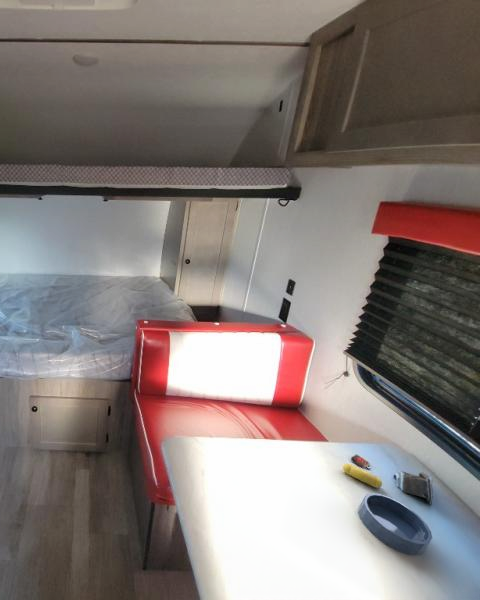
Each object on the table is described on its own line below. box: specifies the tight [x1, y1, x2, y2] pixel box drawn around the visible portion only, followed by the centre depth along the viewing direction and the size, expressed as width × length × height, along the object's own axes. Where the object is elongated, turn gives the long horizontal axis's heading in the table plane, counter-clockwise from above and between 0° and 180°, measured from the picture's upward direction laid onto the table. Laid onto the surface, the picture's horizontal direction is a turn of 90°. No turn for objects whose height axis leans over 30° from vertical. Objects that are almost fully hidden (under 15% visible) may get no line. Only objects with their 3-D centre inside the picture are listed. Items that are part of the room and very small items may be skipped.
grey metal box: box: [393, 470, 434, 506], centre depth 96 cm, size 10×7×12 cm
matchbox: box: [350, 453, 371, 470], centre depth 103 cm, size 5×5×1 cm
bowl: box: [357, 492, 433, 556], centre depth 83 cm, size 13×13×4 cm
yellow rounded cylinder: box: [342, 463, 383, 489], centre depth 97 cm, size 9×3×3 cm, turn 51°
